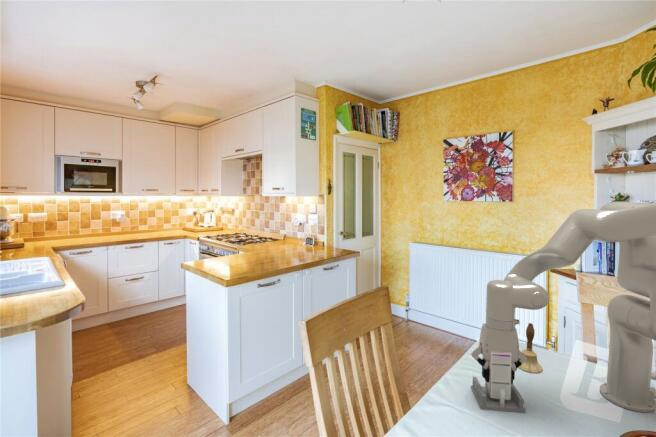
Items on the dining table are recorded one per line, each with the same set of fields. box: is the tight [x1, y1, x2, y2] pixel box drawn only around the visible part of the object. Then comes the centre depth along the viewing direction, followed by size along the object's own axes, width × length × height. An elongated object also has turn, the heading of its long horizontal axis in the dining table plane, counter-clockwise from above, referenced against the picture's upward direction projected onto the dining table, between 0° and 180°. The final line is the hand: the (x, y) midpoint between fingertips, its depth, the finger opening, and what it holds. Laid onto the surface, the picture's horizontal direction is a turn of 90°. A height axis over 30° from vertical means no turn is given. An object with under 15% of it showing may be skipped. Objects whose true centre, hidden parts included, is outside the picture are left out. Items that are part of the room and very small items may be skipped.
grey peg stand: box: [470, 376, 526, 414], centre depth 98 cm, size 12×10×6 cm
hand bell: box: [517, 322, 543, 374], centre depth 115 cm, size 8×8×16 cm
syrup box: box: [484, 352, 512, 400], centre depth 97 cm, size 6×6×14 cm
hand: (497, 379), depth 97 cm, fingers closed on syrup box, 5 cm apart
